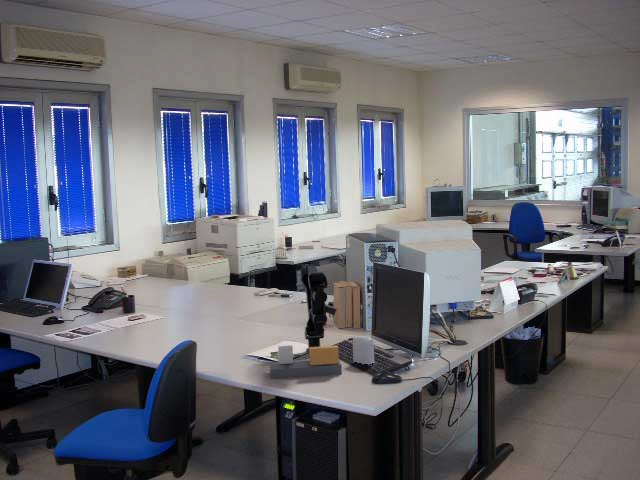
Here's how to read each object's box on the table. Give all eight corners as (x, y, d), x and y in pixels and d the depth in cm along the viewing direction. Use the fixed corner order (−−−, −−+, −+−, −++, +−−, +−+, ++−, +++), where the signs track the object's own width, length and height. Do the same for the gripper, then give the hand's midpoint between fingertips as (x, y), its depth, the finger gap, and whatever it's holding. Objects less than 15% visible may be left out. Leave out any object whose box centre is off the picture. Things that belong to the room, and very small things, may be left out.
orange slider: (309, 363, 292) (309, 347, 292) (337, 361, 294) (337, 345, 293) (310, 365, 289) (310, 349, 289) (338, 363, 291) (338, 347, 290)
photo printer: (351, 362, 307) (351, 335, 306) (358, 360, 310) (357, 333, 309) (369, 366, 300) (368, 338, 299) (375, 364, 303) (375, 336, 302)
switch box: (269, 372, 297) (269, 363, 296) (338, 367, 300) (338, 358, 300) (271, 378, 287) (270, 369, 286) (341, 373, 290) (341, 364, 290)
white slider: (278, 362, 296) (278, 346, 295) (292, 361, 297) (292, 345, 296) (279, 364, 293) (278, 348, 292) (293, 363, 294) (292, 347, 293)
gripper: (338, 302, 304) (339, 337, 305) (332, 295, 322) (333, 327, 324) (313, 304, 302) (314, 338, 304) (308, 296, 321) (309, 329, 322)
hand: (318, 333), depth 314 cm, fingers open, 9 cm apart
